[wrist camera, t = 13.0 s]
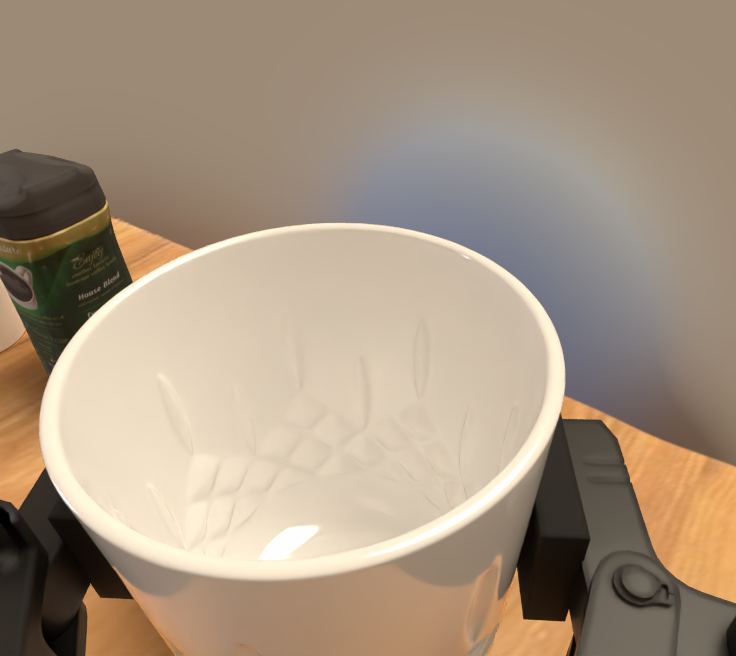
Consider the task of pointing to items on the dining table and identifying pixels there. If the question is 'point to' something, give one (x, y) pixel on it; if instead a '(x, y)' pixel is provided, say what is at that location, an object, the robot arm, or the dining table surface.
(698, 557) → the dining table surface
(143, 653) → the dining table surface
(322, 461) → the white cup
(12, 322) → the cylindrical container
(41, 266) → the coffee jar
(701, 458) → the dining table surface
